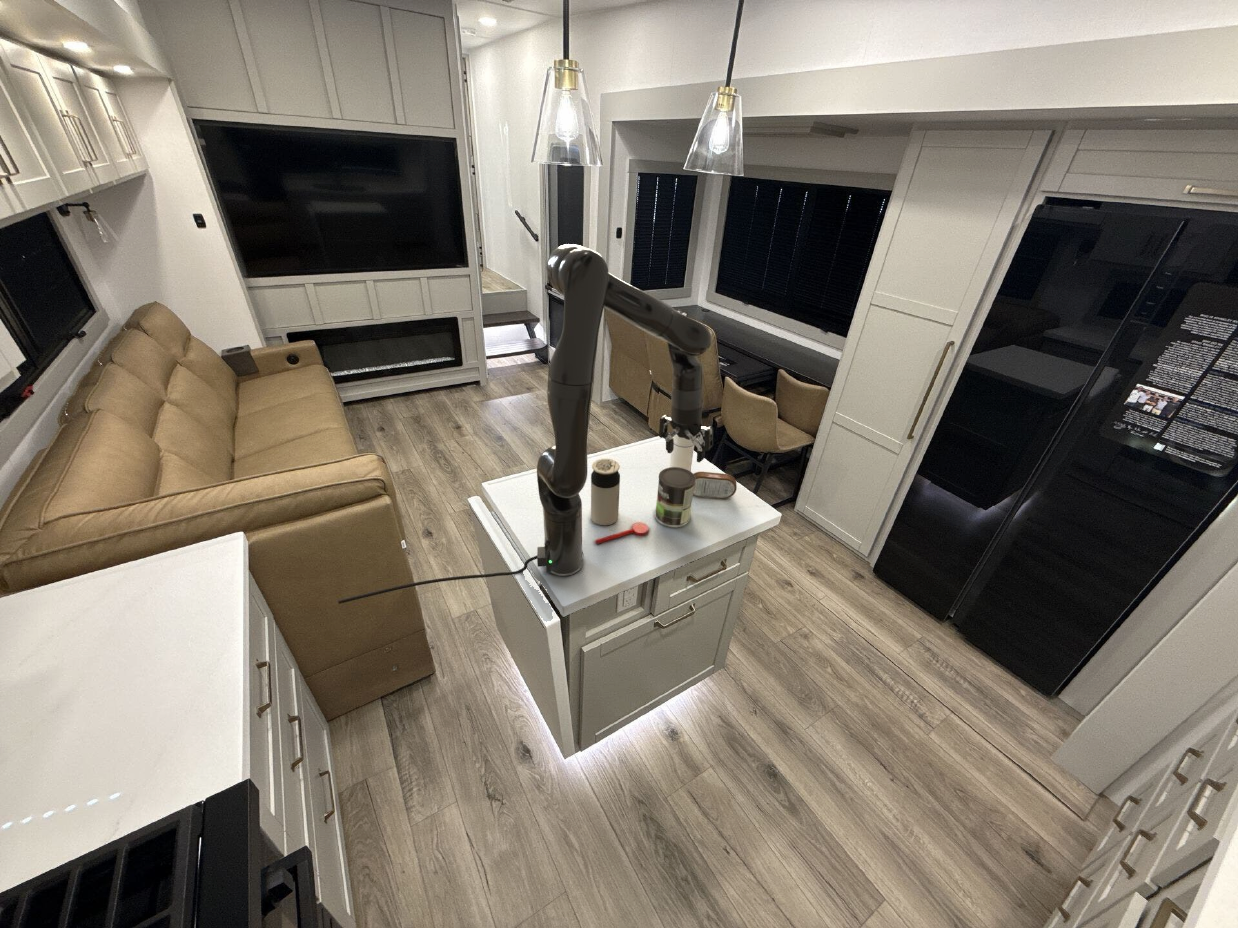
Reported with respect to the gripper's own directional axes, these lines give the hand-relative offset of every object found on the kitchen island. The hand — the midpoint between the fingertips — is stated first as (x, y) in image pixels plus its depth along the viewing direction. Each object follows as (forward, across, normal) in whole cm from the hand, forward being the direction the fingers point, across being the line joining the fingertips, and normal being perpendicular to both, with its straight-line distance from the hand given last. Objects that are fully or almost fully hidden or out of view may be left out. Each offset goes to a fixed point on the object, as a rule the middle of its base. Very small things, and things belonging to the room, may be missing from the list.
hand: (684, 456), depth 127 cm
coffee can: (+23, -4, 0) cm, 23 cm away
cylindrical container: (+24, -12, +22) cm, 35 cm away
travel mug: (+21, -20, -12) cm, 31 cm away
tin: (+25, +2, +16) cm, 29 cm away
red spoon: (+21, -11, -15) cm, 28 cm away
